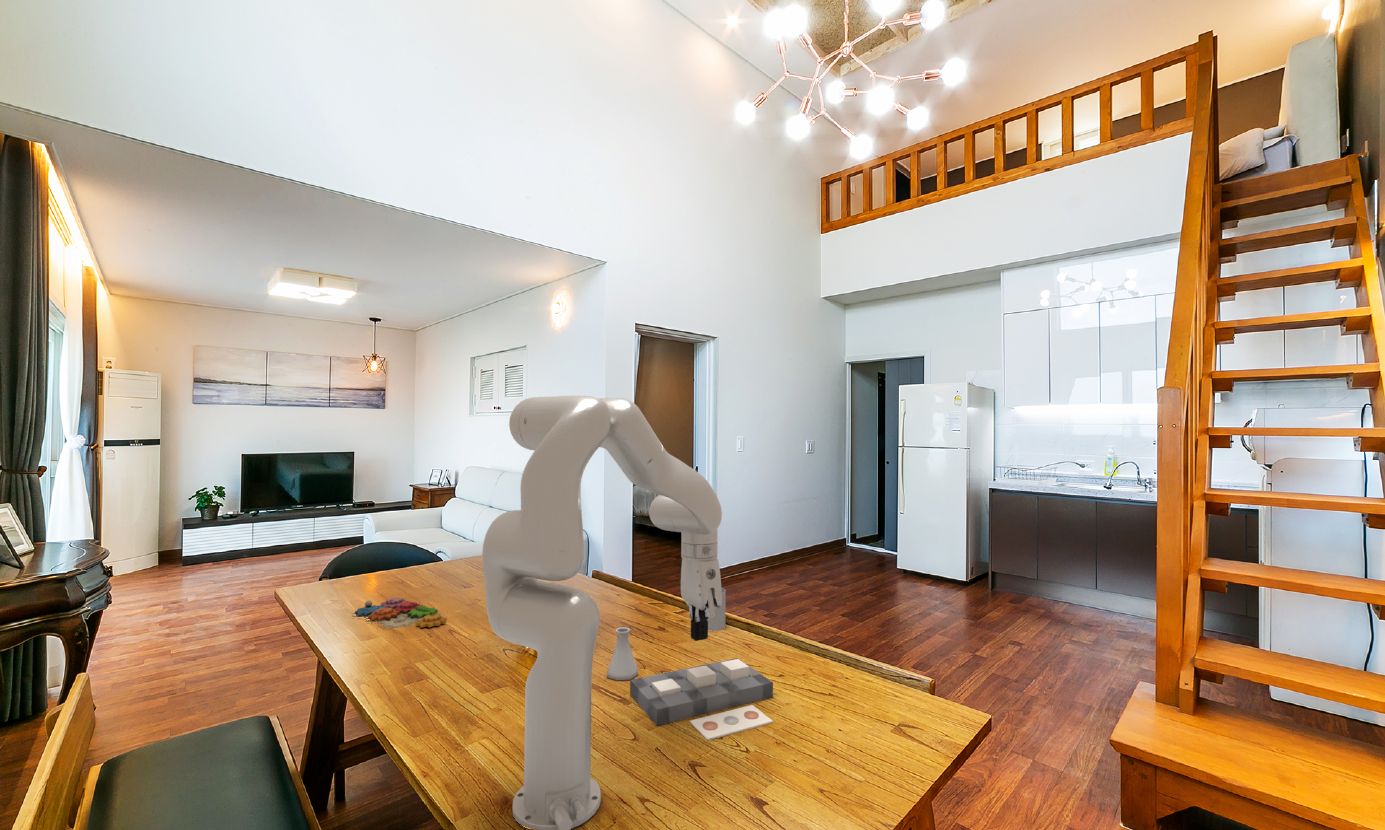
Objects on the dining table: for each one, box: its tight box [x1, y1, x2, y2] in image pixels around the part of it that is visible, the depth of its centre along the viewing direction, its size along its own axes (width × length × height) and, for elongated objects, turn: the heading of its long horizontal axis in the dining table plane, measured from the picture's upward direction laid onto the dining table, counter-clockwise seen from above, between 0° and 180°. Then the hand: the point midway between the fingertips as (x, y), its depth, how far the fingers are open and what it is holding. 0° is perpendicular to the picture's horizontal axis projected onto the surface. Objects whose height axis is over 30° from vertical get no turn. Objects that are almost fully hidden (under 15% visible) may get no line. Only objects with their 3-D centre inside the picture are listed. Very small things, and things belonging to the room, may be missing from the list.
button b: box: [687, 665, 716, 688], centre depth 119 cm, size 4×4×4 cm
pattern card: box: [689, 704, 774, 741], centre depth 108 cm, size 7×14×1 cm, turn 117°
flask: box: [606, 627, 639, 681], centre depth 129 cm, size 7×7×10 cm
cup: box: [708, 587, 727, 632], centre depth 161 cm, size 8×8×10 cm
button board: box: [629, 657, 774, 727], centre depth 119 cm, size 14×26×3 cm, turn 117°
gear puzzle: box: [351, 597, 448, 629], centre depth 166 cm, size 31×16×4 cm, turn 58°
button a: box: [720, 658, 750, 681], centre depth 123 cm, size 4×4×4 cm
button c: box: [652, 679, 681, 696], centre depth 115 cm, size 4×4×4 cm
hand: (699, 638), depth 119 cm, fingers closed
